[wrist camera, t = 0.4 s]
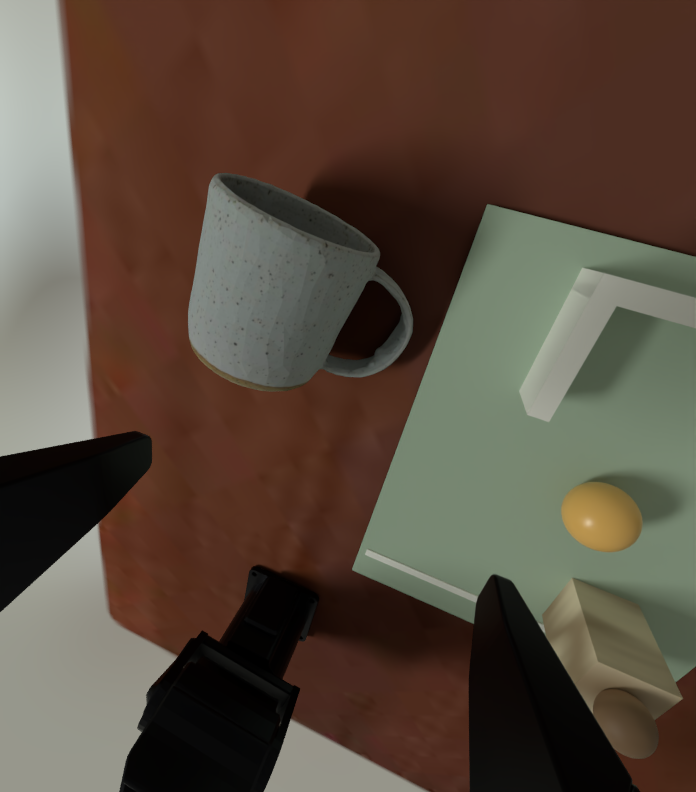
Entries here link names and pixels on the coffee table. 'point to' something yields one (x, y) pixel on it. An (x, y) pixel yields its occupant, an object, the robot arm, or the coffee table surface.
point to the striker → (612, 664)
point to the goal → (591, 332)
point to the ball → (601, 517)
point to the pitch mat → (546, 438)
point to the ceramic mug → (281, 288)
